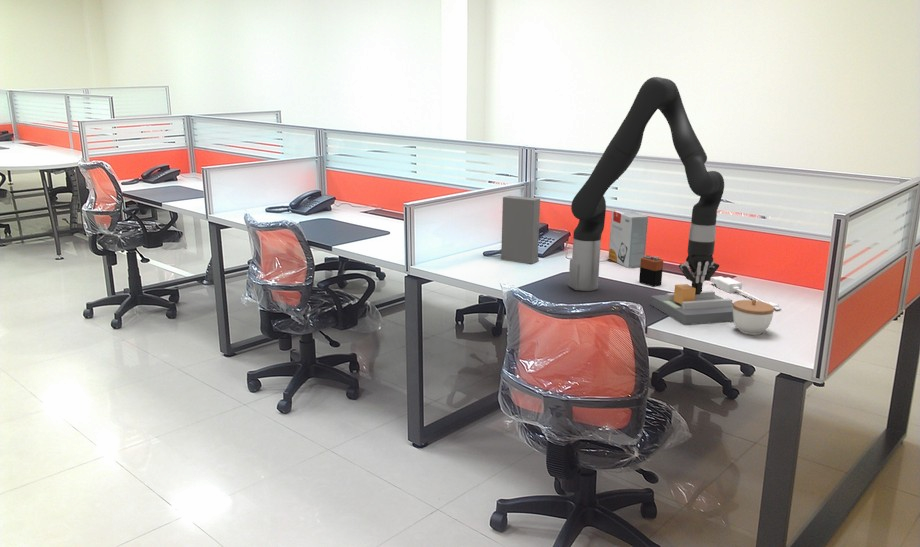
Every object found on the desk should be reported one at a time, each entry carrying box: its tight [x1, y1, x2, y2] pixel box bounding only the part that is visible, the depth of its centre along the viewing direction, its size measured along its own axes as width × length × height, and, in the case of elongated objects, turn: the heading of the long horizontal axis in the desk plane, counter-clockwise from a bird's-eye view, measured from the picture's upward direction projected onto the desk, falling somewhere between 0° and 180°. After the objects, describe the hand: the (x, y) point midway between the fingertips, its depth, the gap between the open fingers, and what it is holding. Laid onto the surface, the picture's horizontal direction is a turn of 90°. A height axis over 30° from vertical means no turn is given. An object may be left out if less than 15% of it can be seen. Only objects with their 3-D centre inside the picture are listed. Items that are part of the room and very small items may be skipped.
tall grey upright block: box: [500, 195, 541, 265], centre depth 278 cm, size 14×6×25 cm, turn 58°
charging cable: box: [709, 275, 782, 311], centre depth 236 cm, size 5×32×3 cm, turn 16°
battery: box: [638, 254, 664, 287], centre depth 249 cm, size 4×7×10 cm, turn 37°
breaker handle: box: [673, 283, 696, 305], centre depth 216 cm, size 4×5×5 cm
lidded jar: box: [732, 298, 775, 336], centre depth 201 cm, size 11×11×9 cm
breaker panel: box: [650, 290, 734, 326], centre depth 218 cm, size 21×20×5 cm
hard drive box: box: [608, 209, 649, 269], centre depth 277 cm, size 16×8×20 cm, turn 17°
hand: (696, 293), depth 217 cm, fingers closed
